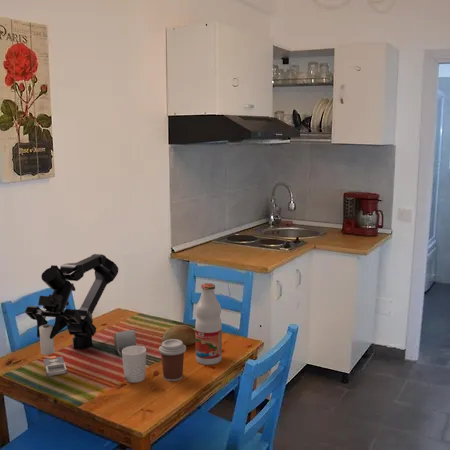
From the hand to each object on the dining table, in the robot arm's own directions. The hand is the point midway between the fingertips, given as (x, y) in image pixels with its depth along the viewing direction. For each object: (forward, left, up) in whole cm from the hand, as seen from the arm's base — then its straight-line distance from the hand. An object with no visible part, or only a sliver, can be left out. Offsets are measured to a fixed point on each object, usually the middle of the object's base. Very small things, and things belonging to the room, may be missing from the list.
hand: (44, 337), depth 181 cm
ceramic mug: (-29, -10, -14) cm, 34 cm away
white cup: (-27, +14, -14) cm, 33 cm away
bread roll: (-50, -7, -14) cm, 52 cm away
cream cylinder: (-1, -1, -6) cm, 6 cm away
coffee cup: (-39, +18, -14) cm, 45 cm away
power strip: (-3, -4, -13) cm, 14 cm away
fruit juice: (-55, +10, -14) cm, 57 cm away
